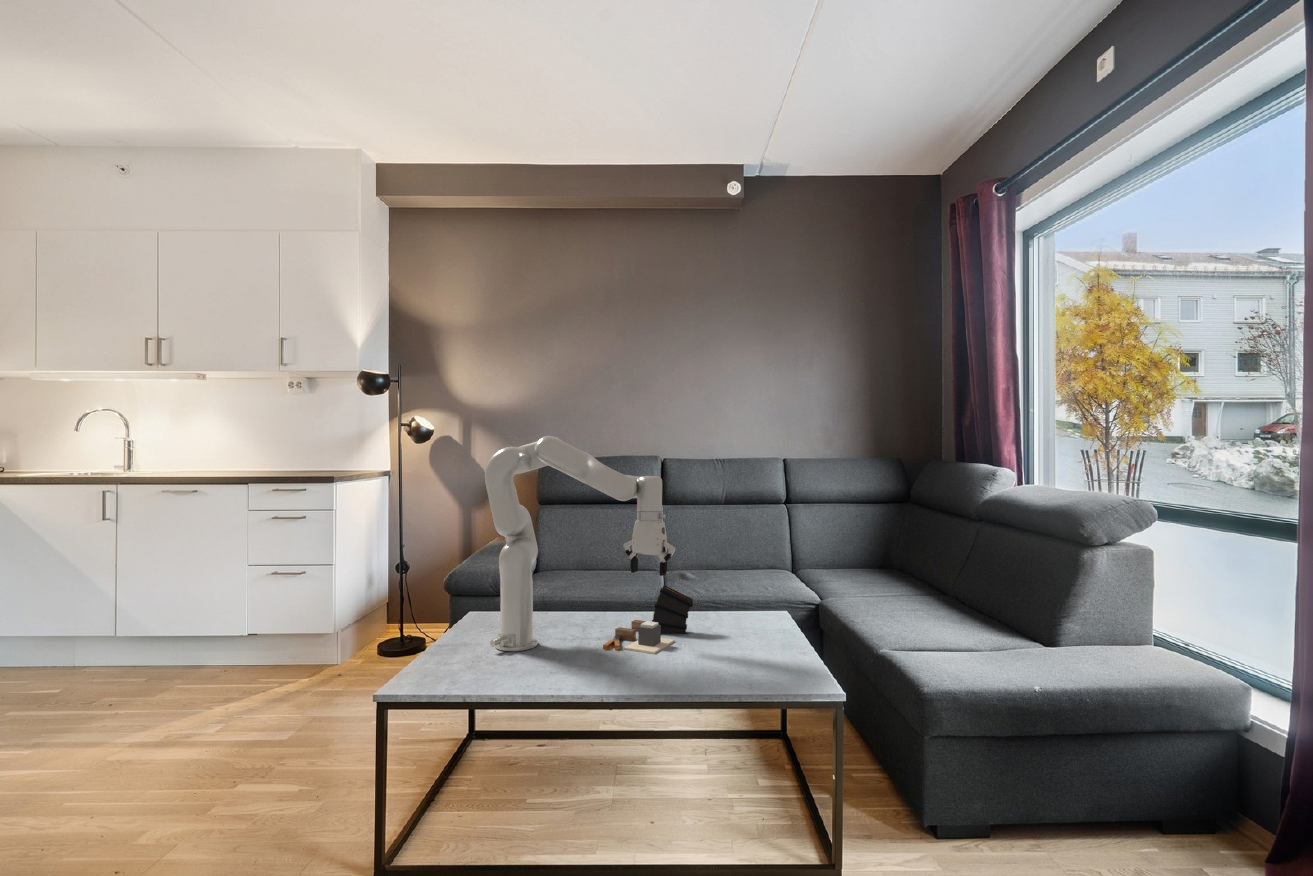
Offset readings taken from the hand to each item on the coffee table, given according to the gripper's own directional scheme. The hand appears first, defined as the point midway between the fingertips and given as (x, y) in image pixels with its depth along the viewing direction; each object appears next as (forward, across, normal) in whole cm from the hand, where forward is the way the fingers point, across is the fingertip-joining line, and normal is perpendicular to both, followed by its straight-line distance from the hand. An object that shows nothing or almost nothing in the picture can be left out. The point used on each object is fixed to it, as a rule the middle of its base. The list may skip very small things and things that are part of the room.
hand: (648, 573), depth 196 cm
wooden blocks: (+22, +9, -8) cm, 25 cm away
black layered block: (+22, -1, -16) cm, 27 cm away
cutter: (+22, +9, +4) cm, 24 cm away
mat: (+22, -1, 0) cm, 22 cm away
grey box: (+21, -1, 0) cm, 21 cm away
